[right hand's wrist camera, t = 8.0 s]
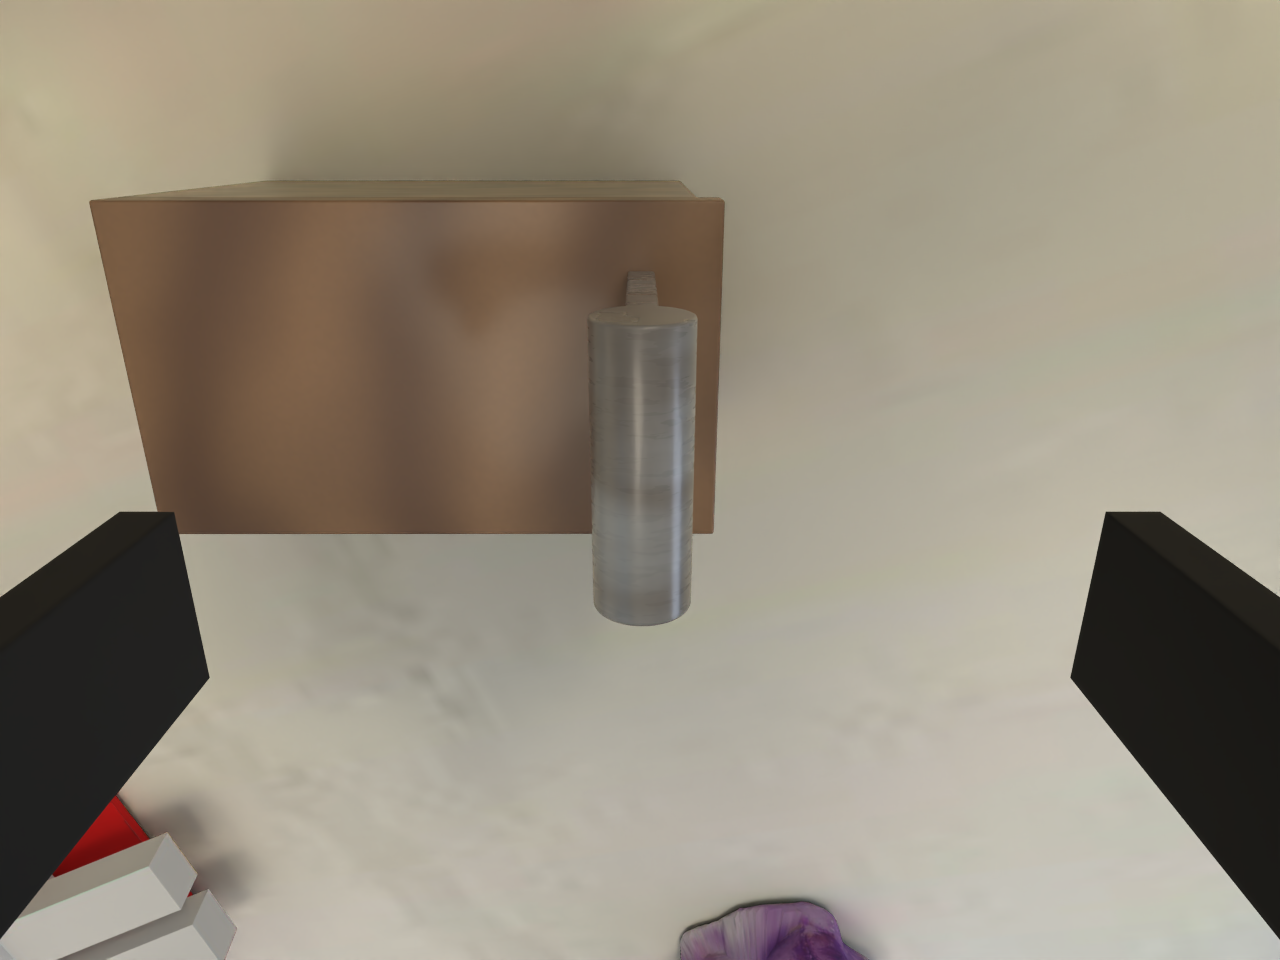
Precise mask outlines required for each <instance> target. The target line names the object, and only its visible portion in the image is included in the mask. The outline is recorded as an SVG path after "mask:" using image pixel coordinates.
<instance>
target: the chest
mask: <svg viewBox="0 0 1280 960" xmlns="http://www.w3.org/2000/svg"><path fill="white" fill-rule="evenodd" d="M576 197H696V196H695V195H694V194H693V193H692V192H691V191H690V190H689V189H688V188H687V187H686V186H685V185H684V184H683V183H682V182H680V181H261V182H251V183H242V184H233V185H224V186H215V187H206V188H197V189H188V190H179V191H170V192H161V193H152V194H143V195H134V196H125V197H118V198H576Z"/></svg>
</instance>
